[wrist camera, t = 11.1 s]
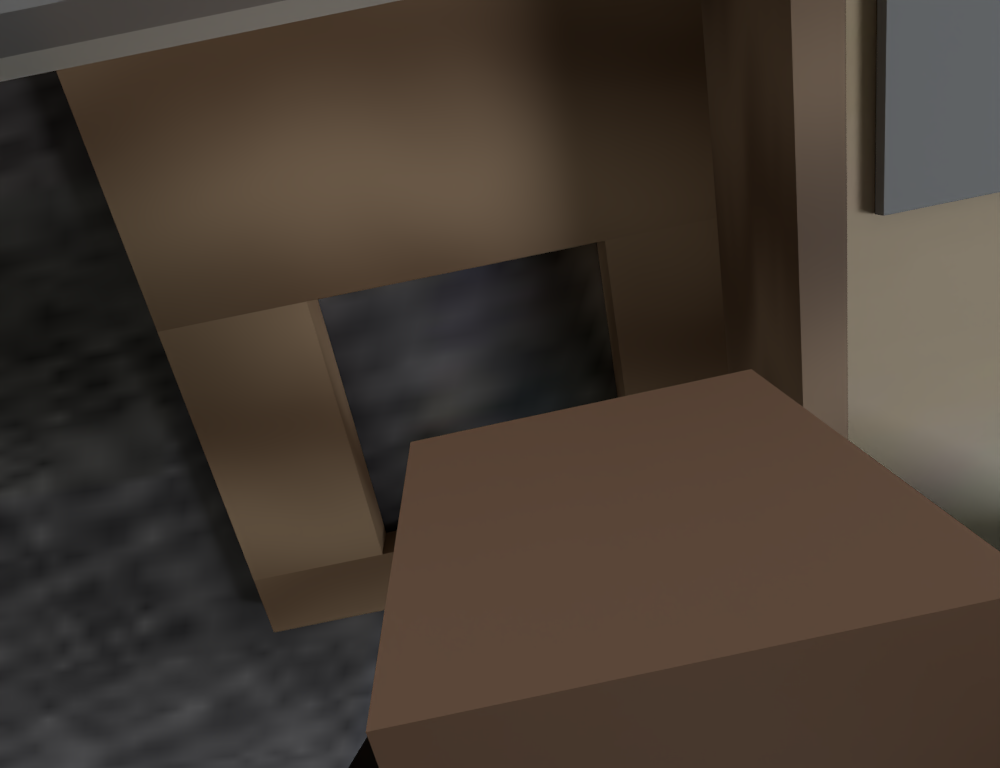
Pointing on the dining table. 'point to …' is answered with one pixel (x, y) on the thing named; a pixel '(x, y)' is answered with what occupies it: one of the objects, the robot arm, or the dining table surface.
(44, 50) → the cover
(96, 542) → the dining table surface
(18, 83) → the dining table surface
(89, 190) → the dining table surface
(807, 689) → the block
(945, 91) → the mat
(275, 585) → the brown open box
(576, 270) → the dining table surface
